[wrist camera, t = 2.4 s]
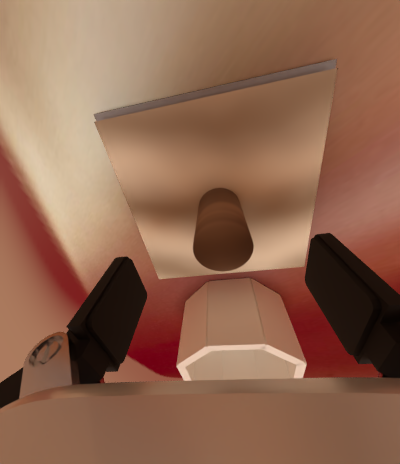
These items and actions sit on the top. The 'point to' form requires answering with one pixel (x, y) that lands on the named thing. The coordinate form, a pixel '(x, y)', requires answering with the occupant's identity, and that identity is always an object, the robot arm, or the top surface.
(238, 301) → the bowl
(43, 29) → the top surface
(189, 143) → the lid
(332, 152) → the top surface
